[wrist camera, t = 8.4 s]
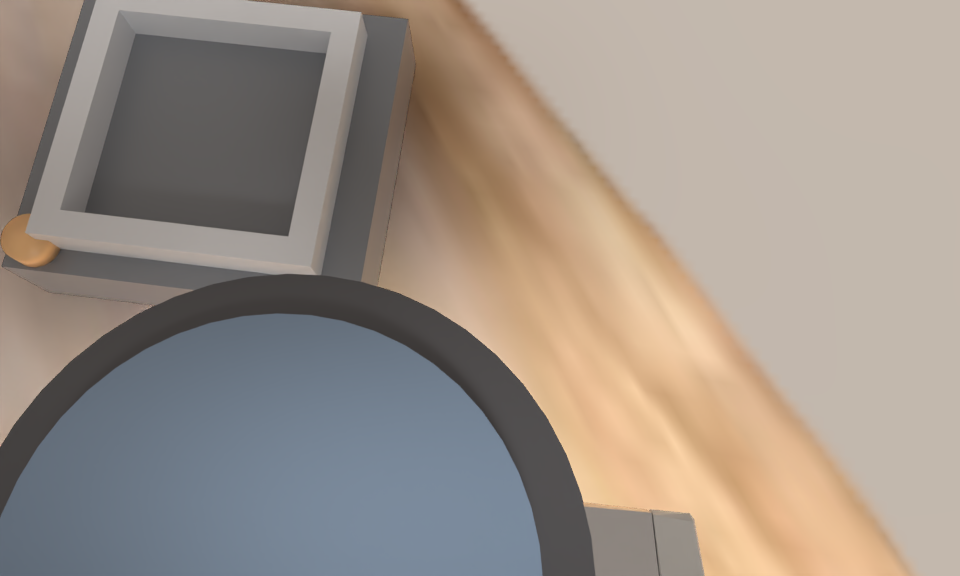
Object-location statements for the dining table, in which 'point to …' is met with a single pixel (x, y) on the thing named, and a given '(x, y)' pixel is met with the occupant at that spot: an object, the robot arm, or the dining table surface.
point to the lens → (288, 447)
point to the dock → (214, 149)
